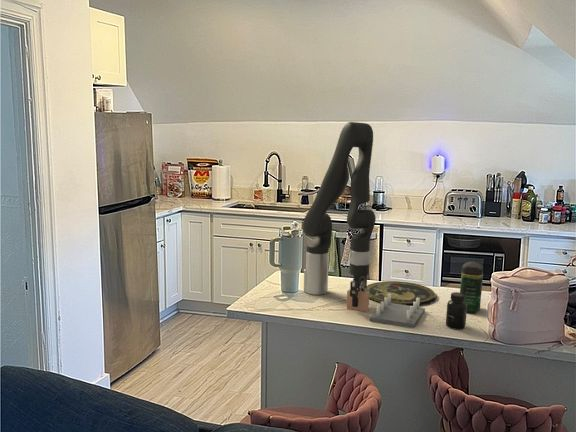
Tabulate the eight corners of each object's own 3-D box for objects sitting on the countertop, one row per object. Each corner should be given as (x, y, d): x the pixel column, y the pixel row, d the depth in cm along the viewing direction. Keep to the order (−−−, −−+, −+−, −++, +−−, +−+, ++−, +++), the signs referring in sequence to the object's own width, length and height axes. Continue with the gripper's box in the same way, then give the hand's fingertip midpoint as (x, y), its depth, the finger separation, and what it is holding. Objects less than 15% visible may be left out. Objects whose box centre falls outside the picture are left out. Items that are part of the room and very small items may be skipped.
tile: (346, 308, 230) (347, 291, 229) (348, 306, 232) (349, 289, 231) (366, 311, 227) (367, 294, 225) (368, 309, 229) (369, 292, 228)
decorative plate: (376, 277, 267) (444, 287, 254) (376, 281, 268) (443, 291, 254) (351, 295, 241) (425, 307, 228) (351, 300, 242) (425, 312, 228)
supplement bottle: (444, 328, 211) (446, 295, 209) (446, 322, 217) (448, 290, 215) (464, 331, 208) (467, 298, 206) (466, 324, 215) (468, 292, 213)
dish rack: (369, 320, 217) (370, 306, 216) (383, 305, 234) (384, 292, 233) (413, 328, 210) (414, 313, 209) (424, 311, 227) (425, 298, 226)
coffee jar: (479, 315, 225) (482, 267, 222) (457, 312, 228) (460, 264, 225) (481, 307, 234) (484, 261, 231) (460, 304, 237) (463, 259, 233)
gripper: (355, 256, 234) (354, 297, 237) (344, 265, 221) (342, 307, 224) (374, 258, 231) (372, 299, 234) (363, 267, 218) (362, 310, 221)
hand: (358, 303), depth 229 cm, fingers open, 7 cm apart
